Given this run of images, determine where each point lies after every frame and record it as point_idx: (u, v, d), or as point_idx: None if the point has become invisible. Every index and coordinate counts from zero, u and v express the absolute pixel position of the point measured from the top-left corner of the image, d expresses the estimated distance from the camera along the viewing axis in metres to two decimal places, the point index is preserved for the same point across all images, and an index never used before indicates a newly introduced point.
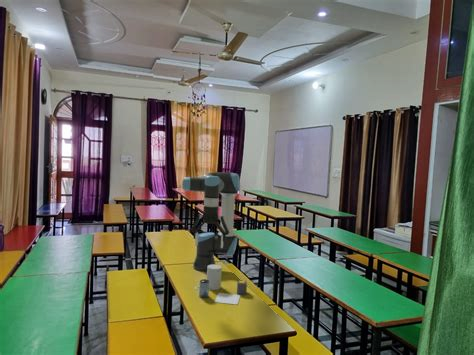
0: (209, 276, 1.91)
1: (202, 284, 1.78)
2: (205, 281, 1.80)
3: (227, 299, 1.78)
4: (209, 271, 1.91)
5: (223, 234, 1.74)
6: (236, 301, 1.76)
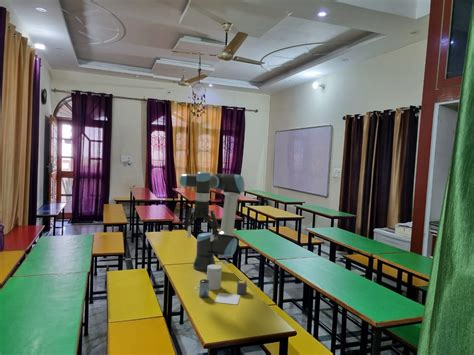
0: (209, 276, 1.91)
1: (202, 284, 1.78)
2: (205, 281, 1.80)
3: (227, 299, 1.78)
4: (209, 271, 1.91)
5: (212, 228, 1.81)
6: (236, 301, 1.76)
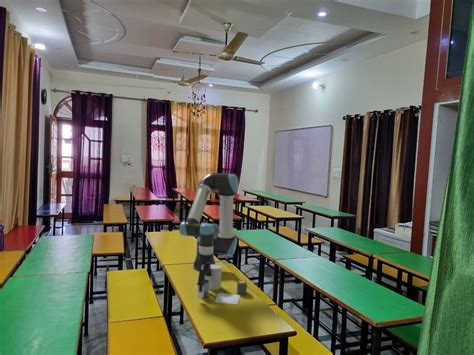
0: None
1: None
2: (205, 281, 1.80)
3: (227, 299, 1.78)
4: None
5: None
6: (236, 301, 1.76)
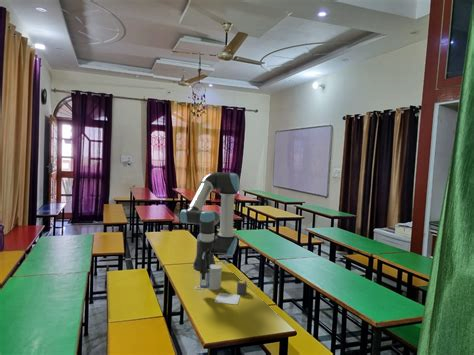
0: None
1: None
2: (206, 271, 1.80)
3: (227, 299, 1.78)
4: None
5: None
6: (236, 301, 1.76)
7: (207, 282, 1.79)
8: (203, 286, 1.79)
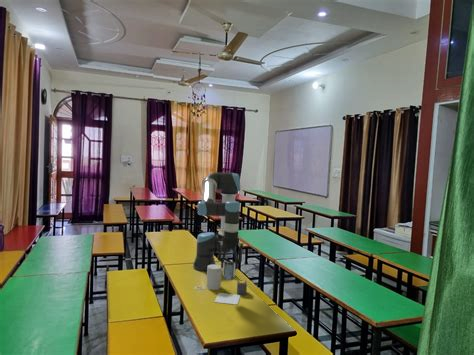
0: (209, 276, 1.91)
1: (233, 265, 1.77)
2: (231, 262, 1.79)
3: (227, 299, 1.78)
4: (209, 271, 1.91)
5: (236, 262, 1.76)
6: (236, 301, 1.76)
7: None
8: (233, 277, 1.78)
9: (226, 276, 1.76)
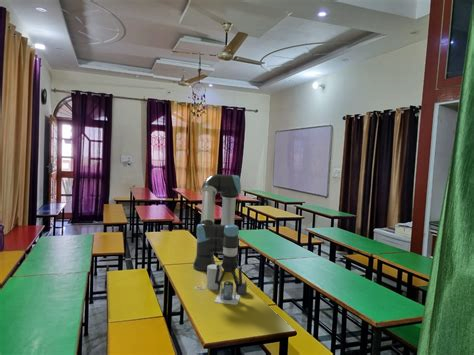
0: (209, 276, 1.91)
1: (232, 285, 1.78)
2: (230, 282, 1.79)
3: None
4: (209, 271, 1.91)
5: (236, 285, 1.77)
6: (236, 301, 1.76)
7: None
8: (232, 297, 1.79)
9: (225, 296, 1.77)
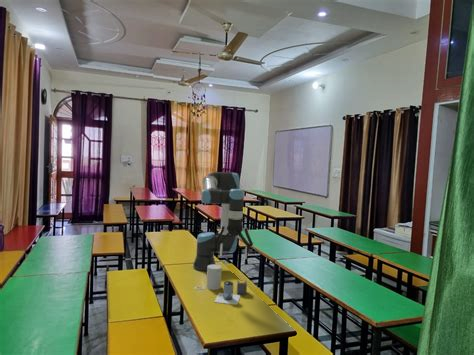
0: (209, 276, 1.91)
1: (232, 285, 1.78)
2: (230, 282, 1.79)
3: None
4: (209, 271, 1.91)
5: (247, 246, 1.79)
6: (236, 301, 1.76)
7: None
8: (232, 297, 1.79)
9: (225, 296, 1.77)
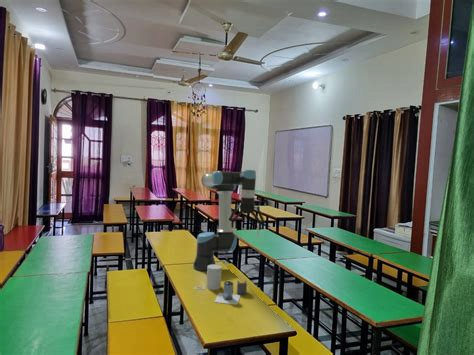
0: (209, 276, 1.91)
1: (232, 285, 1.78)
2: (230, 282, 1.79)
3: None
4: (209, 271, 1.91)
5: (259, 223, 1.90)
6: (236, 301, 1.76)
7: None
8: (232, 297, 1.79)
9: (225, 296, 1.77)
